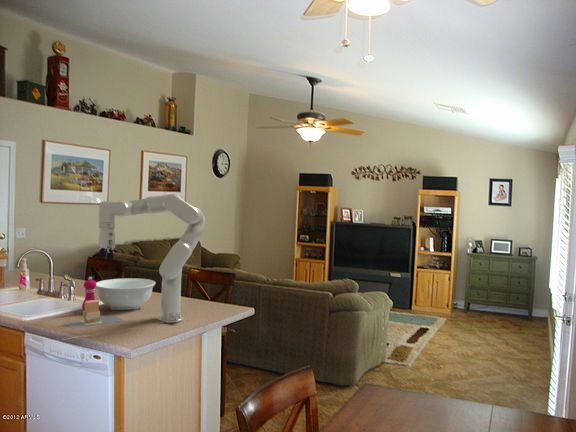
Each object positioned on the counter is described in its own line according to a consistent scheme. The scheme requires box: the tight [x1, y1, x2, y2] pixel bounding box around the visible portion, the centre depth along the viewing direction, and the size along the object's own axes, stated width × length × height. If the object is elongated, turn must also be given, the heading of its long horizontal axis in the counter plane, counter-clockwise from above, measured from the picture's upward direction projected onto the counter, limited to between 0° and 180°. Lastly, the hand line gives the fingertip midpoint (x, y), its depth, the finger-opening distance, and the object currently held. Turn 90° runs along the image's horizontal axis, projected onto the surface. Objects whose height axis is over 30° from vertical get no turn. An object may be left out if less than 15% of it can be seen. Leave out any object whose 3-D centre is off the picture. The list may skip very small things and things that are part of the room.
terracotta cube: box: [85, 299, 100, 313], centre depth 234 cm, size 5×5×5 cm
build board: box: [62, 315, 125, 330], centre depth 235 cm, size 14×25×1 cm, turn 132°
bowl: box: [95, 277, 156, 311], centre depth 269 cm, size 32×32×15 cm
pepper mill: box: [81, 276, 97, 311], centre depth 252 cm, size 7×7×20 cm
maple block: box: [82, 310, 101, 324], centre depth 234 cm, size 6×6×5 cm
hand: (106, 259), depth 244 cm, fingers open, 9 cm apart
